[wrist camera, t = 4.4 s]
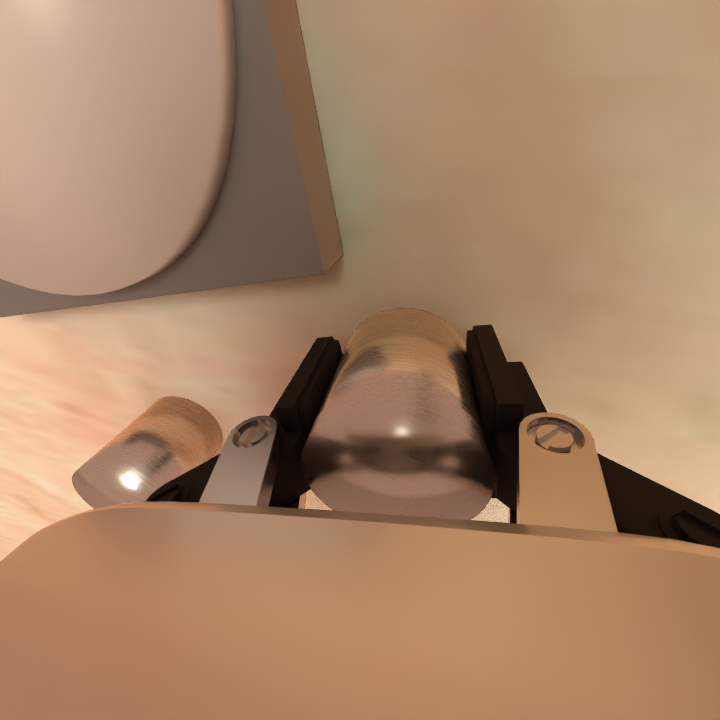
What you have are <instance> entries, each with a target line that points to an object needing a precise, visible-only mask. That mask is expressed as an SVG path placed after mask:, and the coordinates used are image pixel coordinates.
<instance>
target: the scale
mask: <svg viewBox="0 0 720 720" xmlns="http://www.w3.org/2000/svg"><path fill="white" fill-rule="evenodd" d="M342 255H343V250H342V244H341V239H340V234H339V229H338V223H337V218H336V213H335V207H334V202H333V197H332V191H331V186H330V181H329V176H328V170H327V165H326V160H325V154H324V149H323V144H322V139H321V133H320V128H319V123H318V117H317V112H316V107H315V101H314V96H313V91H312V86H311V80H310V75H309V70H308V64H307V59H306V54H305V48H304V43H303V38H302V33H301V27H300V22H299V17H298V11H297V6H296V1H295V0H0V317H7V316H14V315H22V314H29V313H37V312H44V311H51V310H59V309H66V308H74V307H81V306H89V305H96V304H104V303H111V302H119V301H126V300H134V299H141V298H149V297H156V296H164V295H171V294H179V293H186V292H194V291H201V290H208V289H216V288H223V287H231V286H238V285H246V284H253V283H261V282H268V281H276V280H283V279H291V278H298V277H306V276H313V275H321V274H325V273H326V272H327V271H328V270H329V269H330V268H331V267H332V265H333V264H334V263H335V262H336V261H337V260H338V259H339V258H340V257H341V256H342Z"/></svg>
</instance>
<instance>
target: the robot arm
mask: <svg viewBox="0 0 720 720" xmlns="http://www.w3.org/2000/svg"><path fill="white" fill-rule="evenodd" d="M466 354H467V359H468V363H469V368H470V372H471V377H472V381H473V386H474V390H475V395H476V399H477V404H478V408H479V413H480V417H481V422H482V426H483V431H484V435H485V439H486V444H487V448H488V452H489V457H490V461H491V466H492V470H493V475H494V488H493V494H492V496H491V498H497V499H498V500H500V501H501V502H502V503H504V504H505V505H506V506H507V507H509V517H508V523H500V522H486V521H473V520H459V519H445V518H432V517H418V516H403V515H389V514H374V513H359V512H345V511H330V510H315V509H305V503H306V492H307V491H308V490H310V489H311V488H310V486H309V485H308V483H307V481H306V479H305V477H304V474H303V470H302V464H301V459H302V452H303V448H304V445H305V443H306V441H307V438H308V436H309V434H310V431H311V429H312V427H313V424H314V422H315V420H316V417H317V415H318V412H319V410H320V408H321V405H322V403H323V401H324V398H325V396H326V394H327V391H328V389H329V386H330V384H331V382H332V379H333V377H334V375H335V372H336V370H337V368H338V365H339V363H340V361H341V358H342V356H343V355H342V351H341V346H340V343H339V341H338V340H334V338H333V337H322V338H317V339H316V341H315V342H314V344H313V345H312V347H311V349H310V350H309V352H308V354H307V355H306V357H305V359H304V360H303V362H302V363H301V365H300V367H299V368H298V370H297V372H296V373H295V375H294V376H293V378H292V380H291V381H290V383H289V385H288V386H287V388H286V389H285V391H284V393H283V394H282V396H281V398H280V399H279V401H278V403H277V404H276V406H275V407H274V409H273V411H272V412H271V414H270V416H257V417H253V418H250V419H248V420H246V421H244V422H242V423H241V424H239V425H238V426H236V427H235V428H234V429H233V430H232V431H231V433H230V435H229V436H228V438H227V440H226V443H225V445H224V447H223V449H222V452H221V454H219V455H217V456H215V457H213V458H211V459H210V460H208V461H206V462H204V463H202V464H200V465H199V466H197V467H195V468H193V469H191V470H189V471H188V472H186V473H184V474H182V475H180V476H178V477H177V478H175V479H173V480H171V481H169V482H167V483H166V484H164V485H163V486H161V487H159V488H158V489H157V490H156V491H155V492H153V493H152V494H151V495H150V496H149V497H148V499H147V500H146V501H145V502H134V503H123V504H117V505H112V506H106V507H101V508H96V509H93V510H89V511H86V512H83V513H80V514H76V515H73V516H70V517H68V518H65V519H63V520H60V521H58V522H56V523H54V524H51V525H49V526H47V527H45V528H43V529H42V530H40V531H38V532H37V533H35V534H34V535H32V536H31V537H30V538H28V539H27V540H26V541H24V542H23V543H22V544H21V545H19V546H18V547H17V548H16V549H15V550H13V551H12V552H11V553H10V554H9V555H7V556H6V557H5V558H4V559H3V560H2V561H0V720H720V514H718V513H716V512H715V511H713V510H711V509H709V508H707V507H705V506H703V505H701V504H699V503H697V502H695V501H693V500H691V499H689V498H687V497H685V496H683V495H680V494H678V493H676V492H674V491H672V490H670V489H668V488H666V487H664V486H662V485H660V484H658V483H656V482H654V481H652V480H650V479H648V478H646V477H644V476H642V475H640V474H638V473H636V472H634V471H632V470H630V469H628V468H626V467H624V466H622V465H620V464H618V463H616V462H614V461H612V460H610V459H608V458H606V457H604V456H602V455H600V454H598V453H597V451H596V447H595V443H594V439H593V437H592V435H591V433H590V432H589V431H588V430H587V429H586V428H585V427H584V426H583V425H582V424H580V423H579V422H577V421H576V420H574V419H572V418H569V417H567V416H564V415H560V414H555V413H547V411H546V409H545V407H544V405H543V403H542V401H541V399H540V397H539V395H538V393H537V391H536V389H535V387H534V385H533V383H532V381H531V379H530V377H529V375H528V373H527V371H526V369H525V366H524V365H523V363H522V362H507V360H506V358H505V356H504V353H503V351H502V349H501V346H500V344H499V341H498V339H497V337H496V334H495V332H494V329H493V327H492V325H480V326H473V330H470V331H467V338H466Z"/></svg>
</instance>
